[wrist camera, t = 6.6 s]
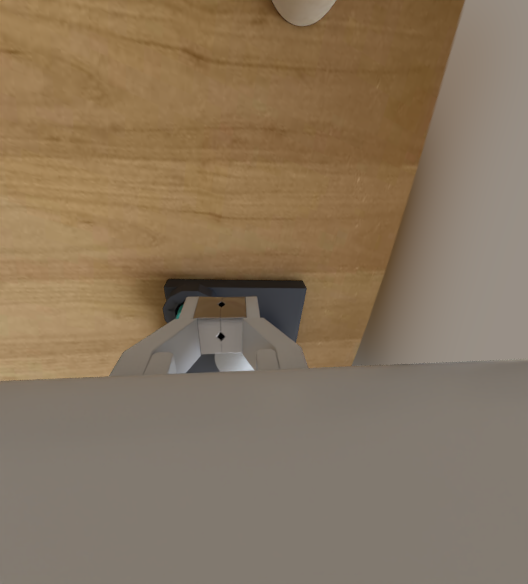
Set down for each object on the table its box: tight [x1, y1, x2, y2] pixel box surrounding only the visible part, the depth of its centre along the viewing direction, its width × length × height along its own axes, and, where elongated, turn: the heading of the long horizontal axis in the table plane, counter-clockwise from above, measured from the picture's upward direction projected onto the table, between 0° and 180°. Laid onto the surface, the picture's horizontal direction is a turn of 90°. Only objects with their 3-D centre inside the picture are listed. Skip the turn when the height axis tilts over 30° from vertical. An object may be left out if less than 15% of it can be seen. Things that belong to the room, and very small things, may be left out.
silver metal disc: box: [215, 353, 254, 372], centre depth 29 cm, size 10×10×1 cm
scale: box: [163, 279, 307, 373], centre depth 29 cm, size 16×14×4 cm
